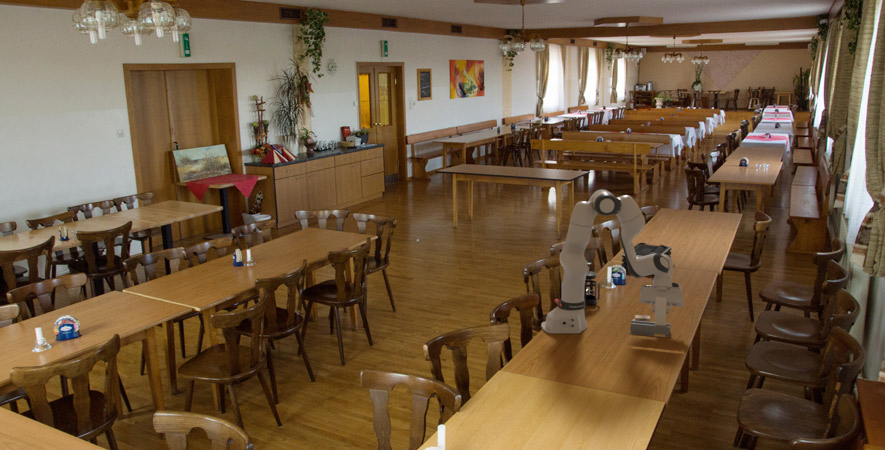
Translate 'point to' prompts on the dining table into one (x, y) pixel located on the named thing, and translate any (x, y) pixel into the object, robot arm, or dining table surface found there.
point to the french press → (591, 288)
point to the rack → (649, 329)
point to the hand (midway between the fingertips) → (660, 312)
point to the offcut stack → (642, 318)
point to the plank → (660, 311)
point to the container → (647, 252)
